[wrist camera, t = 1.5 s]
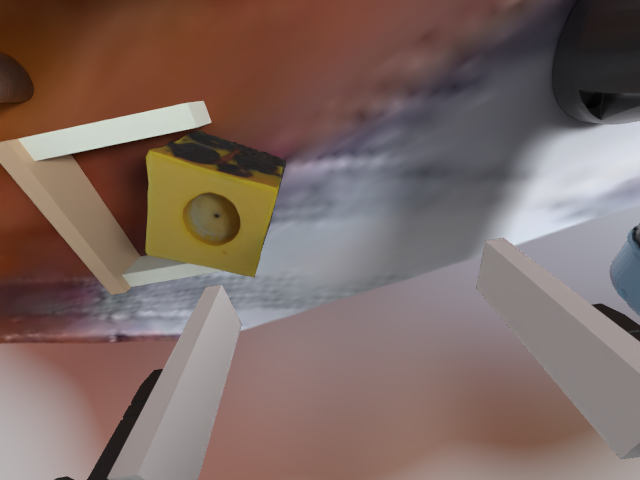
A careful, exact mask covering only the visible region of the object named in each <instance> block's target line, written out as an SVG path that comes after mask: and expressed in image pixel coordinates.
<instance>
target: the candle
mask: <svg viewBox="0 0 640 480" xmlns="http://www.w3.org/2000/svg"><path fill="white" fill-rule="evenodd" d="M146 165H147V173H148V181H149V186H148V217H147V230H146V246H145V252H146V254H147V255H148V256H153V257H158V258H164V259H169V260H174V261H179V262H184V263H189V264H195V265H200V266H205V267H210V268H214V269H219V270H223V271H227V272H232V273H236V274H240V275H245V276H251V277H255V273H256V270H257V267H258V263H259V260H260V254H261V251H262V248H263V245H264V241H265V238H266V235H267V232H268V229H269V226H270V221H271V218H272V214H273V209H274V206H275V202H276V198H277V195H278V192H279V188H280V184H281V180H282V177H283V173H284V170H285V167H286V161H285V160H283V159H280V158H278V157H276V156H271V155H270V154H268V153H266V152H259V151H257V150H255V149H252V148H248V147H246V146H244V145H240V144H237V143H236V142H230V141H226V140H223V139H221V138H218V137H215V136H212V135H208V134H206V133H205V132H203V131H201V130H198V131H193V133H191V132H190V133H187V135H185V136H183V137H182V138H181V139H179V140H178V141H176V142H172V141H170V142H169V143H168V144H167V145H166V146H164V147H161V148H154V149H150V150H149V151H148V153H147V156H146Z"/></svg>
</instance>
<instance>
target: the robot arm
mask: <svg viewBox="0 0 640 480" xmlns="http://www.w3.org/2000/svg"><path fill="white" fill-rule="evenodd" d="M553 88H554V92H555V96H556V99H557V101H558V103H559V105H560V106H561V108H562V109H563V110H564V111H565V112H566V113H567V114H568V115H569V116H571V117H573V118H575V119H577V120H580V121H584V122H591V123H600V124H624V123H630V122H636V121H640V0H579V1H578V2H577V4H576V6H575V7H574V9H573V11H572V13H571V15H570V17H569V19H568V21H567V23H566V25H565V27H564V30H563V32H562V35H561V37H560V40H559V43H558V46H557V50H556V54H555V59H554V65H553ZM627 238H628V240H627V241H626V243H625V244H624V246H623V247H622V249H621V250H620V252H619V253H618V254H617V256H616V257H615V259H614V260H613V262H612V264H611V266H610V278H611V281H612V284H613V286H614V288H615V290H616V291H617V293H618V294H619V295H620V296H621V297H622V298H623V299H624V300H625V301H626V302H627V304H628V305H629V307H630V308H631V309H633V311H635V312H636V313H637V314H638V315H639V316H640V224H639V225H638V226H636V227H634V228H633V229H632V230H631V231H630V232H629V233H628V236H627ZM476 288H477V290H478V291H479V292H480V293H481V294H482V296H483V297H484V298H485V299H486V300H487V301H488V303H489V304H490V305H491V306H492V307H493V309H494V310H495V311H496V312H497V313H498V315H499V316H500V317H501V318H502V319H503V320H504V322H505V323H506V324H507V325H508V326H509V328H510V329H511V330H512V331H513V332H514V334H515V335H516V336H517V337H518V338H519V340H520V341H521V342H522V343H523V344H524V345H525V347H526V348H527V349H528V350H529V351H530V352H531V354H532V355H533V356H534V357H535V358H536V360H537V361H538V362H539V363H540V364H541V365H542V367H543V368H544V369H545V370H546V372H547V373H548V374H549V375H550V376H551V377H552V379H553V380H554V381H555V382H556V383H557V384H558V386H559V387H560V388H561V389H562V391H563V392H564V393H565V394H566V395H567V396H568V398H570V400H571V401H572V402H573V404H574V405H575V406H576V407H577V408H578V410H579V411H580V412H581V413H582V414H583V415H584V417H585V418H586V419H587V420H588V421H589V423H590V424H591V425H592V426H593V427H594V428H595V430H596V431H597V432H598V433H599V434H600V436H601V437H602V438H603V439H604V440H605V442H606V443H607V444H608V445H609V446H610V447H611V449H612V450H613V451H614V452H615V453H616V455H617V456H618V457H619V458H620V459H626V458H635V457H640V325H638V324H637V323H636V322H634V321H633V320H631V319H630V318H628V317H627V316H626V315H624V314H622V313H620V312H618V311H616V310H614V309H612V308H609V307H607V306H605V305H603V304H594V305H591V304H589V303H588V302H587V301H586V300H584V299H583V298H582V297H580V296H579V295H577V294H576V293H575V292H574V291H572V290H571V289H570V288H568V287H567V286H566V285H564V284H563V283H562V282H561V281H559V280H558V279H557V278H555V277H554V276H553V275H551V274H550V273H549V272H548V271H546V270H545V269H544V268H542V267H541V266H540V265H538V264H537V263H536V262H534V261H533V260H532V259H530V258H529V257H528V256H526V255H525V254H524V253H523V252H521V251H520V250H519V249H517V248H516V247H515V246H513V245H512V244H511V243H510V242H508V241H507V240H506V239H504V238H500V239H494V240H488V241H485V246H484V251H483V256H482V260H481V265H480V271H479V276H478V281H477V285H476ZM241 325H242V324H241V322H240V320H239V318H238V316H237V314H236V312H235V310H234V308H233V306H232V304H231V302H230V300H229V298H228V296H227V294H226V292H225V290H224V288H223V286H222V285H216V286H210V287H206V288H205V290H204V292H203V293H202V295H201V297H200V299H199V301H198V303H197V305H196V307H195V309H194V311H193V313H192V315H191V317H190V319H189V321H188V322H187V324H186V326H185V328H184V330H183V332H182V334H181V336H180V338H179V340H178V342H177V344H176V346H175V348H174V350H173V352H172V354H171V355H170V357H169V359H168V361H167V363H166V365H165V367H164V369H159V370H154V371H153V372H152V373H151V374H150V375H149V377H148V378H147V379H146V380H145V381H144V382H143V383H142V385H141V386H140V387H139V390H138V391H137V393H136V395H135V396H134V398H133V400H132V402H131V405H130V406H129V407H128V409H127V410H126V412H125V414H124V416H123V420H121V421H120V423H119V425H118V427H117V428H116V430H115V432H114V434H113V435H112V437H111V439H110V440H109V442H108V444H107V446H106V448H105V449H104V451H103V453H102V455H101V456H100V458H99V460H98V462H97V463H96V465H95V467H94V469H93V471H92V472H91V474H90V476H89V478H88V479H87V480H198V477H199V474H200V470H201V467H202V463H203V460H204V456H205V452H206V449H207V445H208V442H209V438H210V435H211V431H212V427H213V424H214V421H215V417H216V414H217V410H218V406H219V403H220V399H221V396H222V392H223V389H224V385H225V382H226V378H227V375H228V371H229V368H230V364H231V361H232V357H233V353H234V350H235V346H236V343H237V339H238V335H239V332H240V329H241ZM55 480H74V479H71V478H70V477H61V478H57V479H55Z"/></svg>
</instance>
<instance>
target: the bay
mask: <svg viewBox="0 0 640 480" xmlns="http://www.w3.org/2000/svg"><path fill="white" fill-rule="evenodd" d="M209 123H212V122H211V119H210V117H209V114H208V111H207V109H206V106H205V103H204V101H199V102H190V103H184V104H179V105H175V106H170V107H165V108H161V109H156V110H151V111H146V112H142V113H137V114H132V115H128V116H123V117H118V118H114V119H109V120H104V121H99V122H95V123H90V124H85V125H81V126H76V127H71V128H67V129H62V130H57V131H52V132H48V133H43V134H38V135H34V136H29V137H24V138H20V139H14V140H8V141H3V142H0V163H1V164H2V166H3V167H4V168H5V169H6V170H7V172H8V173H9V174H10V175H11V176H12V177H13V179H14V180H15V181H16V182H17V183H18V185H19V186H20V187H21V188H22V189H23V191H24V192H25V193H26V194H27V195H28V197H29V198H30V199H31V200H32V201H33V203H34V204H35V205H36V206H37V207H38V209H39V210H40V211H41V212H42V213H43V214H44V216H45V217H46V218H47V219H48V220H49V222H50V223H51V224H52V225H53V226H54V228H55V229H56V230H57V231H58V232H59V234H60V235H61V236H62V237H63V238H64V240H65V241H66V242H67V243H68V244H69V245H70V247H71V248H72V249H73V250H74V251H75V253H76V254H77V255H78V256H79V257H80V259H81V260H82V261H83V262H84V263H85V265H86V266H87V267H88V268H89V269H90V271H91V272H92V273H93V274H94V275H95V276H96V278H97V279H98V280H99V281H100V282H101V284H102V285H103V286H104V287H105V288H106V290H107V291H108V292H109V293H110V294H111V295H114V294H120V293H126V292H127V291H128V290H129V289H130V288H131V287H134V286H140V285H145V284H151V283H157V282H163V281H169V280H175V279H181V278H186V277H192V276H198V275H204V274H210V273H216V272H221V271H223V270H219V269H214V268H210V267H205V266H200V265H195V264H189V263H184V262H179V261H174V260H169V259H164V258H158V257H153V256H148V255H145V256H140V255H139V253H138V252H137V250H136V249H135V248H134V246H133V245H132V243H131V242H130V240H129V239H128V237H127V236H126V234H125V233H124V231H123V230H122V228H121V227H120V225H119V224H118V222H117V221H116V220H115V218H114V217H113V215H112V214H111V212H110V211H109V209H108V208H107V206H106V205H105V203H104V202H103V200H102V199H101V197H100V196H99V195H98V193H97V192H96V190H95V189H94V187H93V186H92V184H91V183H90V181H89V180H88V178H87V177H86V175H85V174H84V172H83V171H82V170H81V168H80V167H79V165H78V164H77V162H76V161H75V159H74V158H73V156H72V155H71V154H72V153H76V152H81V151H86V150H91V149H96V148H101V147H106V146H110V145H115V144H120V143H125V142H130V141H135V140H139V139H144V138H149V137H154V136H159V135H164V134H169V133H173V132H178V131H183V130H188V129H193V128H197V127H200V126H203V125H206V124H209Z"/></svg>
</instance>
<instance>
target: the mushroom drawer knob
mask: <svg viewBox="0 0 640 480" xmlns="http://www.w3.org/2000/svg"><path fill="white" fill-rule="evenodd" d="M32 95H33V84H32V81H31V79H30V77H29V75H28V73H27V72H26V71H25V69H24V68H23V67H22V66H21V65H20V64H19V63H18V62H17V61H16V60H14V59H13V58H11V57H10V56H8V55H6V54H4V53H1V52H0V103H13V102H25V101H28V100H29V99H30V98H31V97H32Z"/></svg>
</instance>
